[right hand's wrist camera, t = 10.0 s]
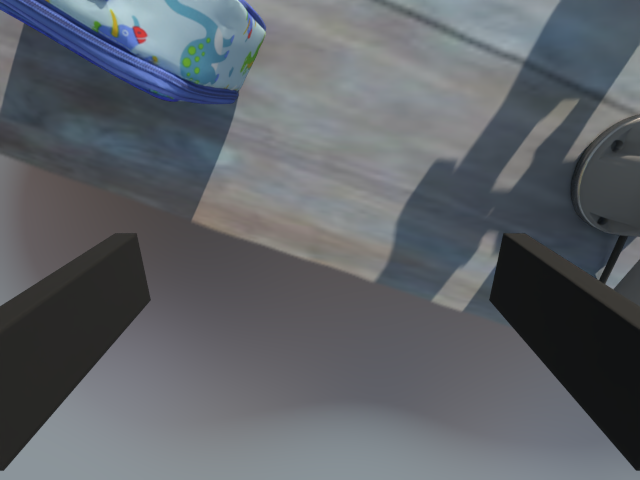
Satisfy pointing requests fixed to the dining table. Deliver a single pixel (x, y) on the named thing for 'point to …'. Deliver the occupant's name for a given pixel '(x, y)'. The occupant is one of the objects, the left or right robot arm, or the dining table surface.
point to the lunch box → (156, 41)
